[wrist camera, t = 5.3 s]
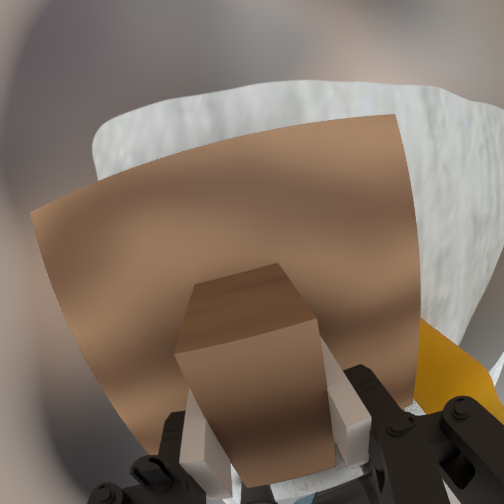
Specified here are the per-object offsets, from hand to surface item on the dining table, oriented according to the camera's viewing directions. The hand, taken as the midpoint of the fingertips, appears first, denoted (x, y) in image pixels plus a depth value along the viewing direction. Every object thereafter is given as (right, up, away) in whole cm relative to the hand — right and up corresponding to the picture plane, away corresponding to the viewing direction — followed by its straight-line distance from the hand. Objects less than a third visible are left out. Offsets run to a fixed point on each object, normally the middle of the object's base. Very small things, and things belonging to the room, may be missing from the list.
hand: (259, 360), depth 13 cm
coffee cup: (0, -44, +34) cm, 55 cm away
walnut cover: (0, +1, +3) cm, 3 cm away
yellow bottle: (+23, -8, +28) cm, 37 cm away
